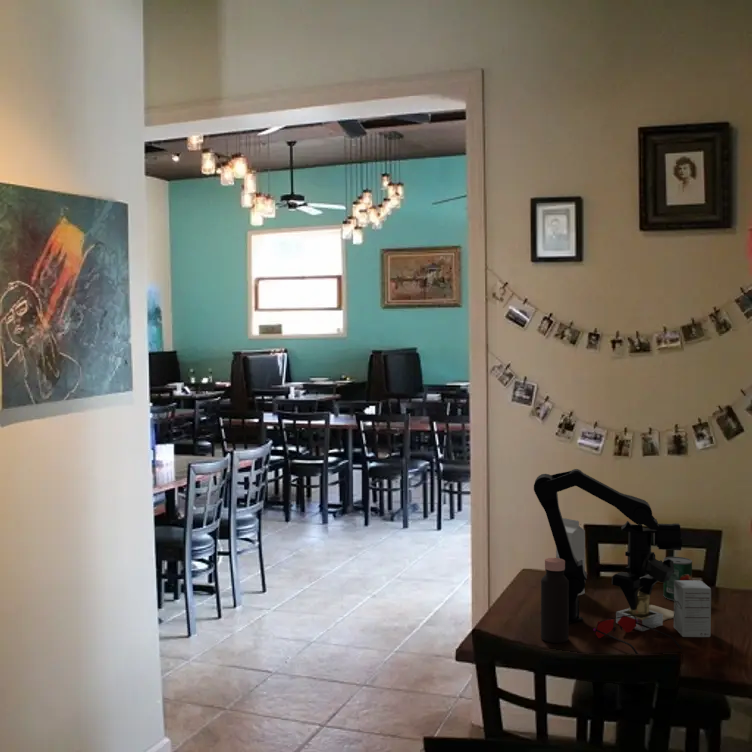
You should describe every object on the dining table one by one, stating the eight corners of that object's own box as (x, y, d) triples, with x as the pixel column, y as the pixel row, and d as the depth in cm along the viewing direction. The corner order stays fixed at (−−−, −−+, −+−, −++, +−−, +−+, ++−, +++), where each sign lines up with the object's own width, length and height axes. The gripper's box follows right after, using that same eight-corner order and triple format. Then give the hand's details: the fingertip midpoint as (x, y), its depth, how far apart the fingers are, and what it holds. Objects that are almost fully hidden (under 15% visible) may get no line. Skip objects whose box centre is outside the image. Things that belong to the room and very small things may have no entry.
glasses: (634, 631, 234) (634, 611, 233) (682, 650, 219) (683, 630, 219) (592, 639, 227) (592, 619, 227) (639, 660, 212) (639, 639, 212)
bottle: (568, 644, 222) (569, 564, 221) (540, 642, 224) (541, 563, 223) (567, 635, 229) (568, 557, 228) (540, 633, 230) (541, 556, 229)
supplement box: (672, 627, 234) (673, 579, 234) (701, 628, 234) (702, 579, 234) (681, 637, 227) (682, 587, 226) (711, 637, 227) (711, 587, 226)
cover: (641, 628, 234) (641, 598, 233) (624, 623, 238) (624, 593, 238) (654, 624, 237) (654, 594, 236) (637, 619, 241) (637, 590, 241)
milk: (568, 589, 270) (568, 516, 269) (585, 594, 265) (585, 519, 264) (555, 593, 266) (555, 519, 265) (572, 597, 261) (572, 522, 260)
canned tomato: (662, 592, 266) (663, 555, 266) (690, 594, 264) (691, 557, 264) (663, 600, 259) (664, 562, 258) (692, 602, 256) (693, 564, 256)
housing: (642, 631, 232) (642, 619, 232) (615, 622, 238) (616, 611, 238) (662, 625, 237) (662, 613, 236) (636, 617, 243) (636, 606, 243)
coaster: (658, 622, 239) (658, 620, 239) (628, 612, 247) (628, 611, 247) (682, 615, 245) (682, 613, 245) (651, 606, 253) (651, 604, 253)
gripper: (651, 560, 224) (650, 622, 225) (685, 547, 238) (684, 605, 238) (610, 552, 232) (610, 612, 233) (646, 540, 245) (645, 597, 246)
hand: (639, 607), depth 237 cm, fingers open, 6 cm apart
